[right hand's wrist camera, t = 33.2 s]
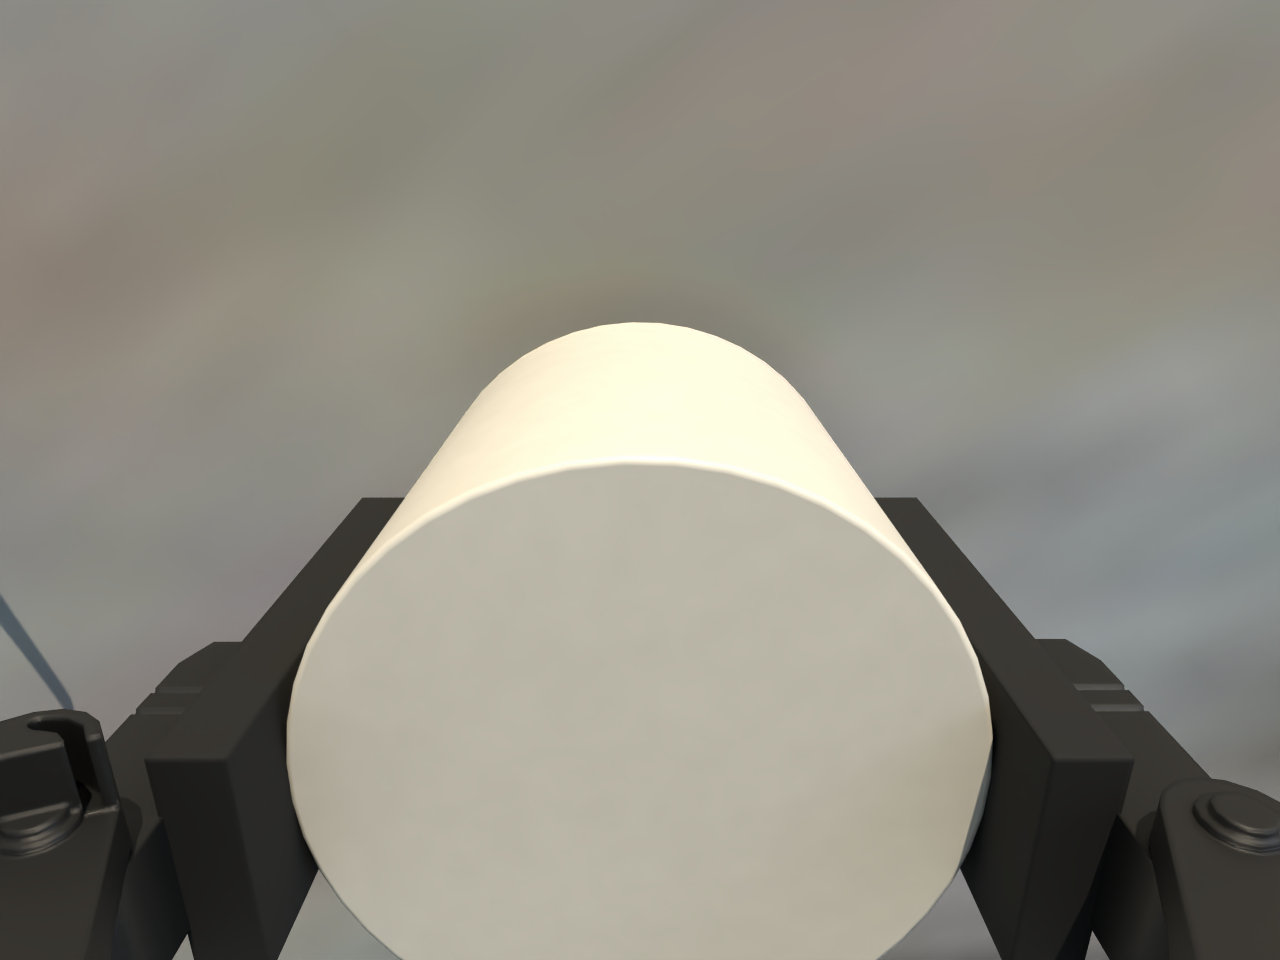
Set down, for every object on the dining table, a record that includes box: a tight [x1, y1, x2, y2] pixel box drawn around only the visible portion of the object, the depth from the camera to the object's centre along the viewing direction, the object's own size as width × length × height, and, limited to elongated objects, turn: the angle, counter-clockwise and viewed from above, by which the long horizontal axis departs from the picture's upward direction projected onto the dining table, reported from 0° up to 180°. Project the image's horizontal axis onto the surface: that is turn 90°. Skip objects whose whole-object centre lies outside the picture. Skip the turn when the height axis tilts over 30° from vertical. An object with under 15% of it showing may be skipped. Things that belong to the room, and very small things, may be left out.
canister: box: [287, 323, 993, 960], centre depth 13 cm, size 8×8×7 cm
